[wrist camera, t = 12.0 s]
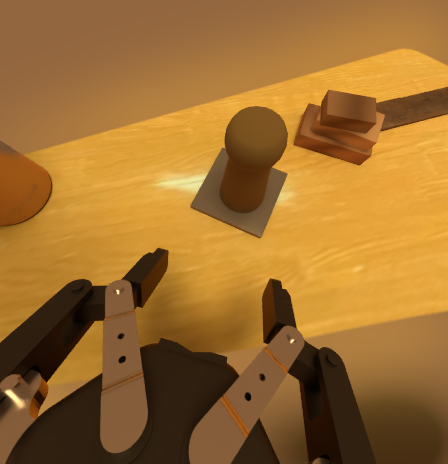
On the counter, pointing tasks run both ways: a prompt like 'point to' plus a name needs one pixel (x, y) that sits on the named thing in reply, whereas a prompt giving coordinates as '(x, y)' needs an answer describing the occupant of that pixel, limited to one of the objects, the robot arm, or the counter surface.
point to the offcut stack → (341, 126)
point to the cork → (251, 156)
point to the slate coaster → (214, 207)
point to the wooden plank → (413, 108)
